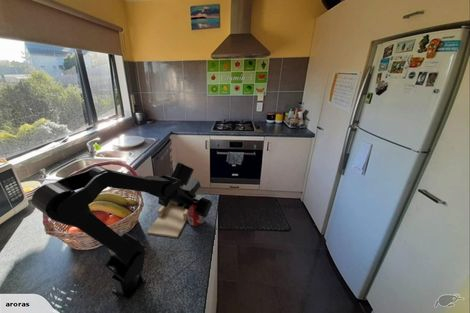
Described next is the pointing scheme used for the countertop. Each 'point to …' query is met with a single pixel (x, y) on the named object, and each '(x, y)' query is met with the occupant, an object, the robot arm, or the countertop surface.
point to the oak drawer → (169, 221)
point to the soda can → (193, 217)
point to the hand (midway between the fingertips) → (198, 206)
